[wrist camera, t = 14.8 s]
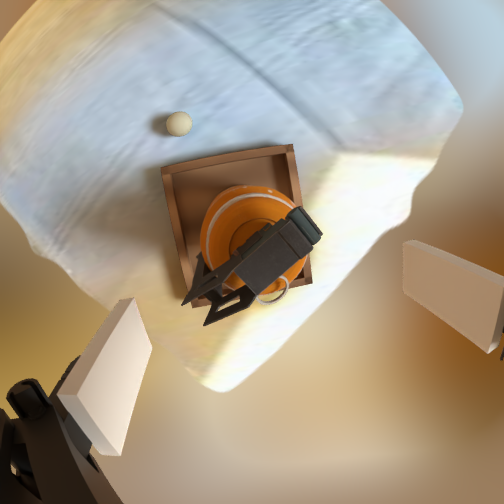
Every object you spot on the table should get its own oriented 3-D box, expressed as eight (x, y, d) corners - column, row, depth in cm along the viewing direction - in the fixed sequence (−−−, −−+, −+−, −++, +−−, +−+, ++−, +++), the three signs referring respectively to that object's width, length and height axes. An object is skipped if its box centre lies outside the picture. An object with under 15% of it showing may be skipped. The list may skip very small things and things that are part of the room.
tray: (164, 168, 34) (160, 167, 31) (287, 146, 35) (292, 143, 33) (193, 300, 39) (192, 308, 36) (306, 277, 40) (312, 283, 37)
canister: (290, 223, 37) (365, 268, 17) (226, 279, 38) (237, 374, 18) (245, 170, 34) (279, 154, 15) (179, 229, 35) (137, 283, 16)
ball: (166, 118, 32) (162, 112, 29) (191, 112, 33) (189, 106, 30) (170, 140, 33) (166, 137, 30) (195, 135, 33) (193, 131, 30)
